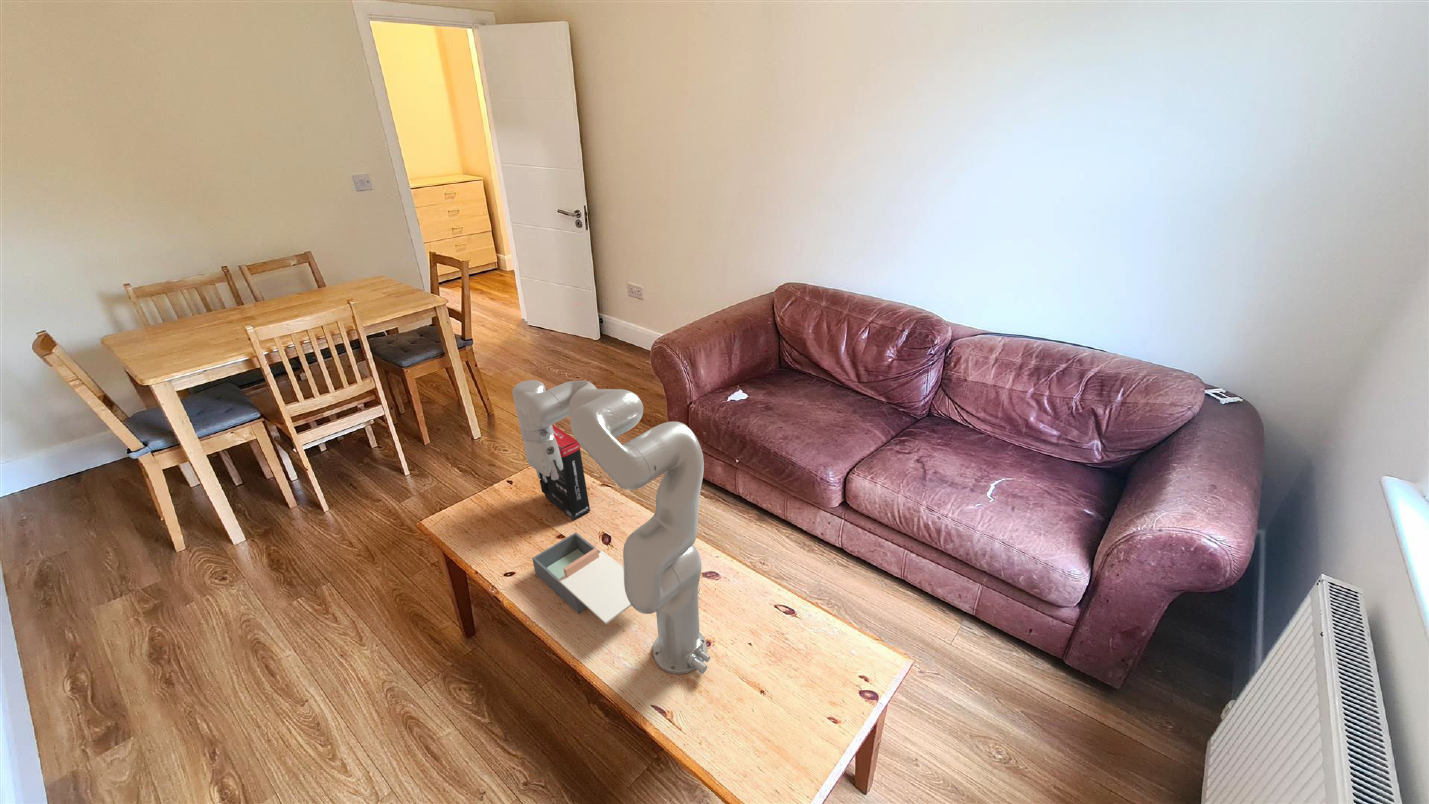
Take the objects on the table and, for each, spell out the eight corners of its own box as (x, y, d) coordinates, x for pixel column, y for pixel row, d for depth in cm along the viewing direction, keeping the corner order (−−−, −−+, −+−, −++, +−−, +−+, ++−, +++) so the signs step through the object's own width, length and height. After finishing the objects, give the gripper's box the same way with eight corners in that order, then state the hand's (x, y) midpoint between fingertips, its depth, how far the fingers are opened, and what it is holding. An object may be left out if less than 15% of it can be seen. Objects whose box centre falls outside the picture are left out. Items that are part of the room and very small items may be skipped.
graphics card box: (592, 512, 181) (581, 438, 168) (573, 523, 176) (560, 448, 163) (561, 489, 191) (549, 419, 178) (543, 499, 187) (529, 427, 174)
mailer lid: (651, 590, 143) (650, 581, 142) (606, 624, 135) (604, 615, 133) (602, 552, 156) (601, 544, 154) (558, 581, 147) (556, 572, 145)
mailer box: (621, 583, 154) (619, 566, 151) (578, 613, 145) (574, 596, 143) (578, 548, 166) (575, 532, 164) (535, 574, 158) (532, 558, 155)
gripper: (567, 434, 137) (578, 496, 146) (534, 414, 146) (546, 473, 155) (540, 447, 132) (552, 510, 141) (507, 425, 142) (521, 486, 150)
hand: (549, 491), depth 148 cm, fingers closed
